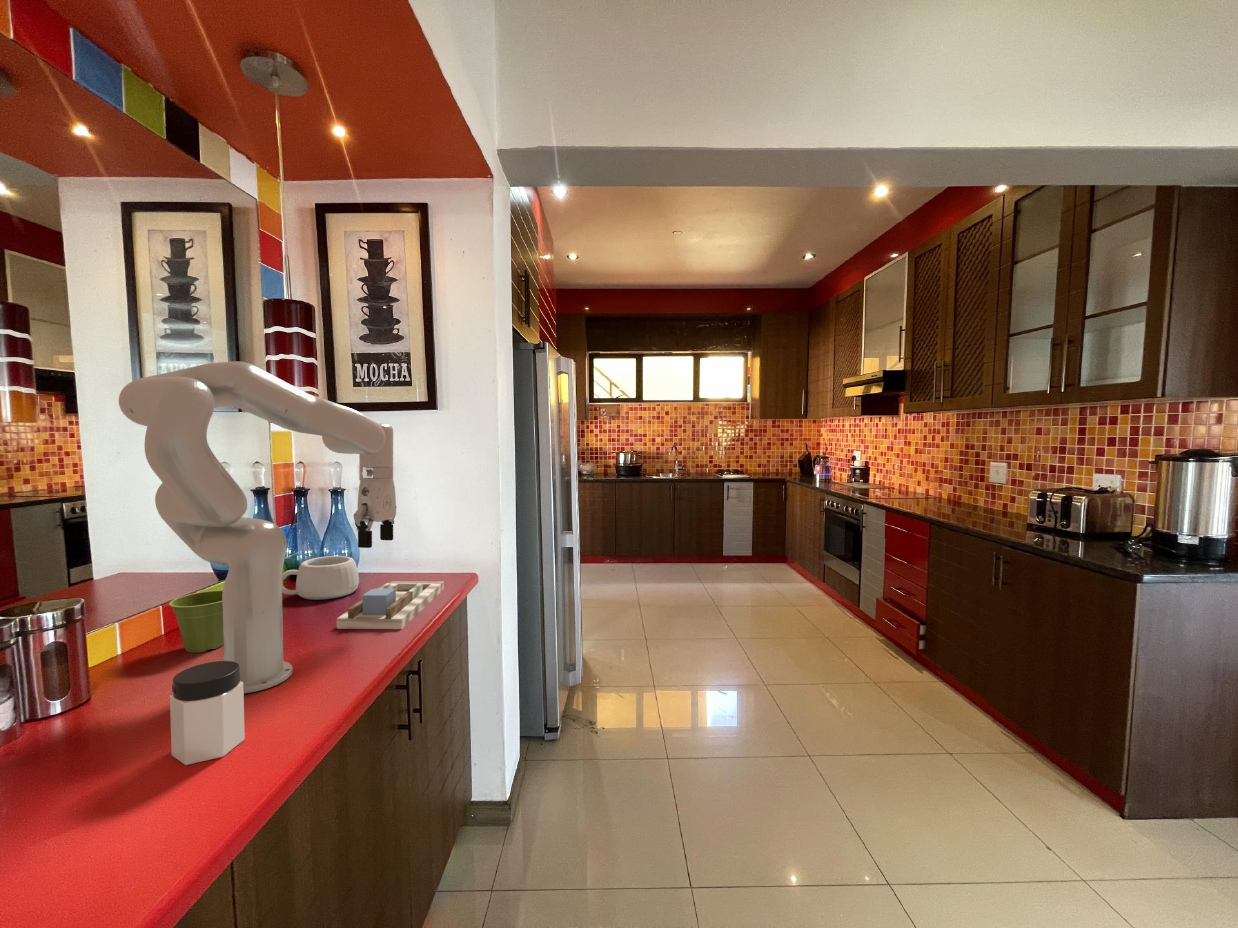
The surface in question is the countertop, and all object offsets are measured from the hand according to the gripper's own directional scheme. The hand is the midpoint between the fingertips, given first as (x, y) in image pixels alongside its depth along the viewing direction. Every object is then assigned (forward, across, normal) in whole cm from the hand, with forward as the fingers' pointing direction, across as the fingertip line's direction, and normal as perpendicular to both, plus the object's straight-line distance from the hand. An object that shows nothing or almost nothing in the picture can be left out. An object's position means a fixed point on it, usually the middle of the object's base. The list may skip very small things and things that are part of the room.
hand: (376, 543), depth 131 cm
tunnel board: (+21, +17, +4) cm, 27 cm away
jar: (+22, -50, -2) cm, 55 cm away
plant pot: (+22, -15, +32) cm, 41 cm away
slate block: (+19, +6, +3) cm, 20 cm away
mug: (+22, +25, +32) cm, 46 cm away
